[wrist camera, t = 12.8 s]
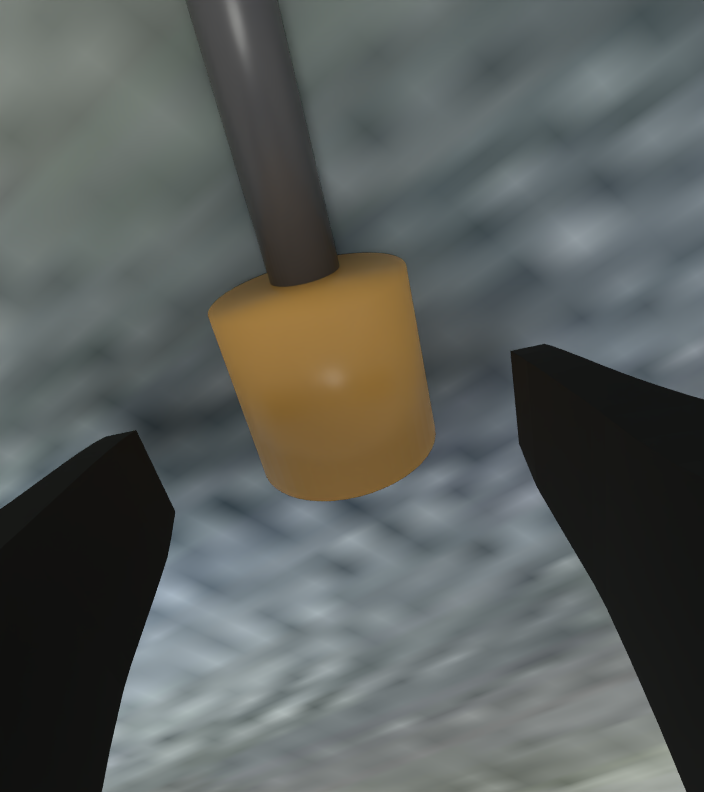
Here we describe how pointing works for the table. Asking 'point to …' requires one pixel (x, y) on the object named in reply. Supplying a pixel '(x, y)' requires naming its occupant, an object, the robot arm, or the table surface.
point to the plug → (307, 290)
